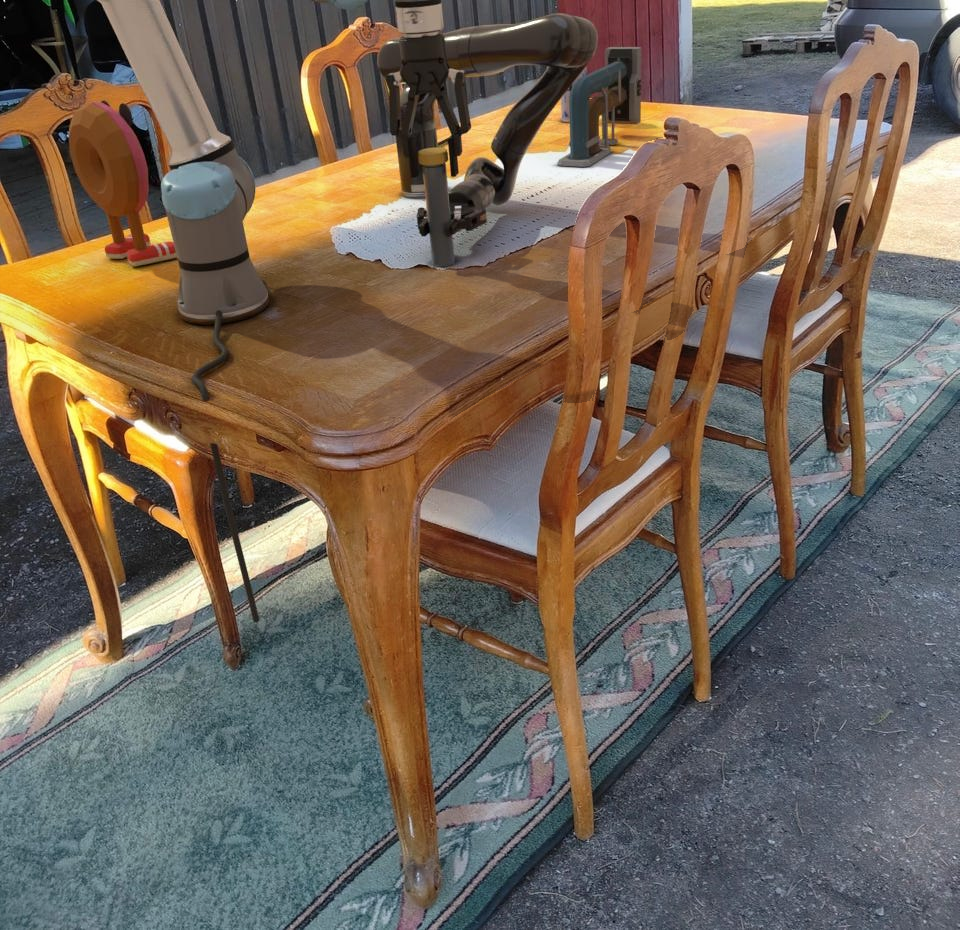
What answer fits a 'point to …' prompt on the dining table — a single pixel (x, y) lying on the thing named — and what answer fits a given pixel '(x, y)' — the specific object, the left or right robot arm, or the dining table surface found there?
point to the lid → (433, 156)
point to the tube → (438, 213)
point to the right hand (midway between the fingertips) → (435, 231)
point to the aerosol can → (565, 99)
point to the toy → (115, 178)
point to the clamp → (603, 105)
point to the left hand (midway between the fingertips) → (435, 175)
